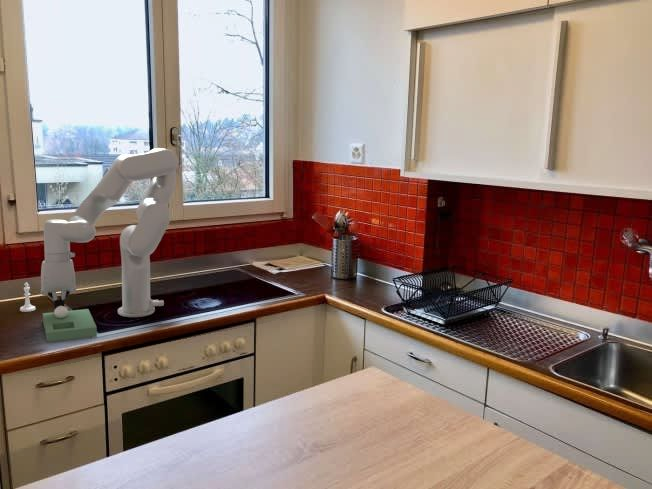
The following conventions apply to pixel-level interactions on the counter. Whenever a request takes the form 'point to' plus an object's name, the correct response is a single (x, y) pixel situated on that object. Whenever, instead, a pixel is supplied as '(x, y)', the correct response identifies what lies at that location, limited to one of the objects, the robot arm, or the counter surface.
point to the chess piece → (27, 300)
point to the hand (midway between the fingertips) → (59, 310)
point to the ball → (61, 312)
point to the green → (69, 326)
